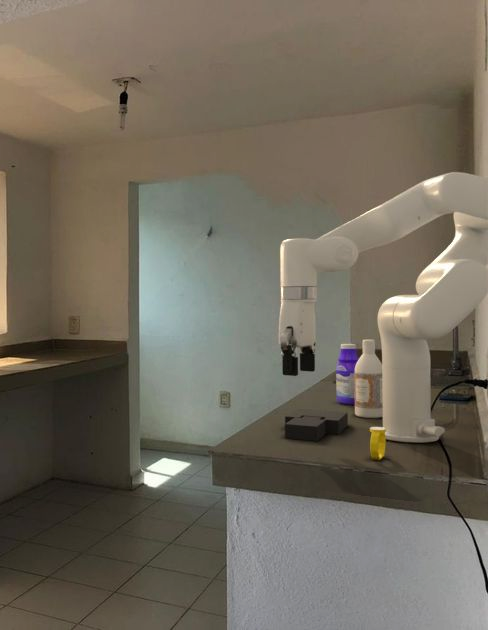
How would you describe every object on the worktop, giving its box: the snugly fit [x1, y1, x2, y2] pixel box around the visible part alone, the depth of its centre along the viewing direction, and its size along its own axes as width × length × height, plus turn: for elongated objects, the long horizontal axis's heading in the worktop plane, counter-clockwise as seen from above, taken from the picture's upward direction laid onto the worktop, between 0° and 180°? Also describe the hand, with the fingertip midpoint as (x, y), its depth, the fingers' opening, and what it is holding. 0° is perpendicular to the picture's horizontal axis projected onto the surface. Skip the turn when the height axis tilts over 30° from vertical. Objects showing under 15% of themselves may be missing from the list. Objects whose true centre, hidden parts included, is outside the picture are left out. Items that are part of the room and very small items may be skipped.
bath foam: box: [354, 339, 383, 419], centre depth 170 cm, size 7×7×20 cm
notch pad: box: [284, 408, 349, 435], centre depth 157 cm, size 12×12×3 cm
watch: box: [369, 426, 387, 461], centre depth 127 cm, size 6×3×6 cm, turn 141°
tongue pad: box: [284, 416, 327, 442], centre depth 149 cm, size 7×12×3 cm, turn 147°
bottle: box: [335, 343, 360, 406], centre depth 190 cm, size 7×6×17 cm
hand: (299, 373), depth 143 cm, fingers open, 9 cm apart
